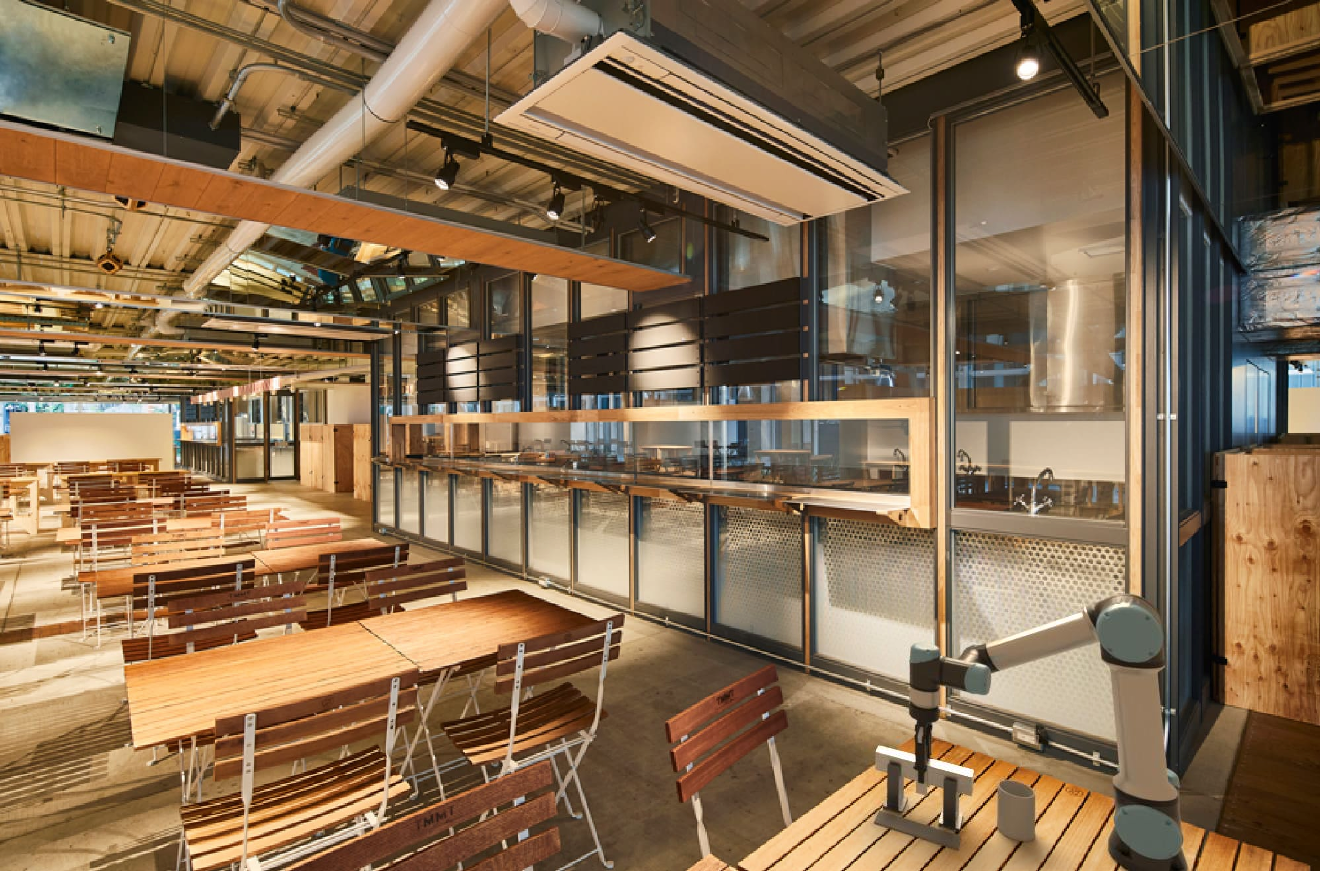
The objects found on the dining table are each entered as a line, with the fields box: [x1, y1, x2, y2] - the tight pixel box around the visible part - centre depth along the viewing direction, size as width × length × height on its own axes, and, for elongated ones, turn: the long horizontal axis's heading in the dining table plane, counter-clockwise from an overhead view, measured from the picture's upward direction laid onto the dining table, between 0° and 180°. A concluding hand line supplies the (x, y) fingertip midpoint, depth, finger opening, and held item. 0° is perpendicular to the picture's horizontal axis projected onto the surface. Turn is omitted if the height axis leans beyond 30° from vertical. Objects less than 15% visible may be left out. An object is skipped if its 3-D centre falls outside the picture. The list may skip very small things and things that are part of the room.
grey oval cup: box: [996, 779, 1036, 842], centre depth 164 cm, size 12×8×11 cm
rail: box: [874, 745, 974, 797], centre depth 170 cm, size 24×4×5 cm, turn 59°
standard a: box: [938, 779, 964, 833], centre depth 166 cm, size 5×8×12 cm, turn 148°
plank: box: [873, 809, 962, 851], centre depth 162 cm, size 20×6×1 cm, turn 59°
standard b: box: [882, 764, 909, 815], centre depth 174 cm, size 5×8×12 cm, turn 149°
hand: (922, 789), depth 170 cm, fingers closed on rail, 4 cm apart
